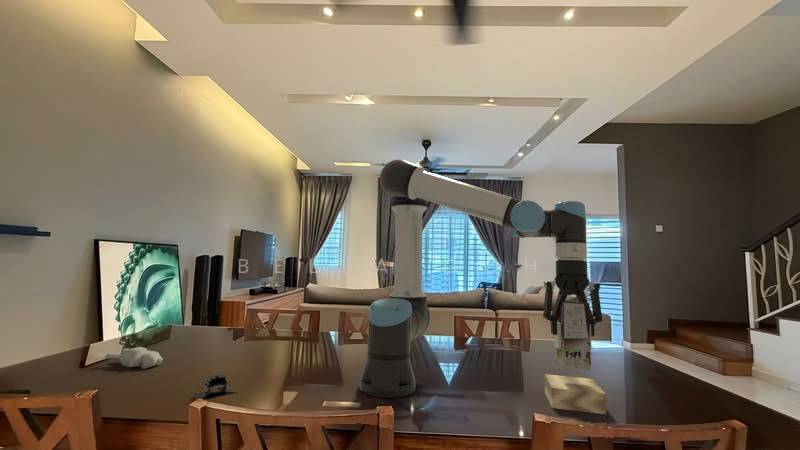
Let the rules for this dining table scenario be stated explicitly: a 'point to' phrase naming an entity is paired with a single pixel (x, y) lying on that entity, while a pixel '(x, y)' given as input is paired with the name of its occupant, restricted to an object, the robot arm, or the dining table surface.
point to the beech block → (575, 394)
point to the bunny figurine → (137, 357)
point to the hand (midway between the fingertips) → (572, 348)
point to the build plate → (218, 391)
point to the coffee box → (575, 335)
